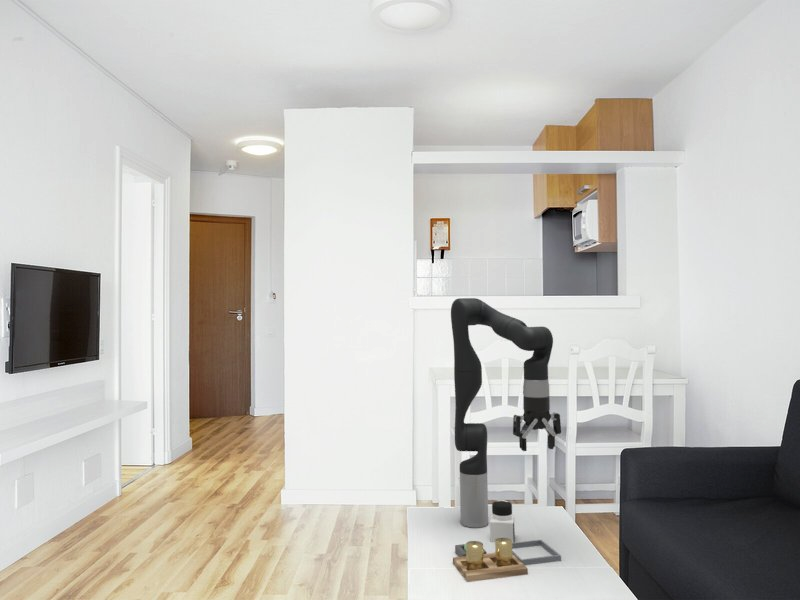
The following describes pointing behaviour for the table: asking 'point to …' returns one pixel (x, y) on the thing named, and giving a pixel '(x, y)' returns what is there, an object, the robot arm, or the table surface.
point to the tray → (537, 560)
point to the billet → (474, 555)
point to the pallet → (490, 568)
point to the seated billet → (503, 552)
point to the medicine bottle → (502, 521)
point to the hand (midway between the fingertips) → (537, 449)
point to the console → (460, 550)
